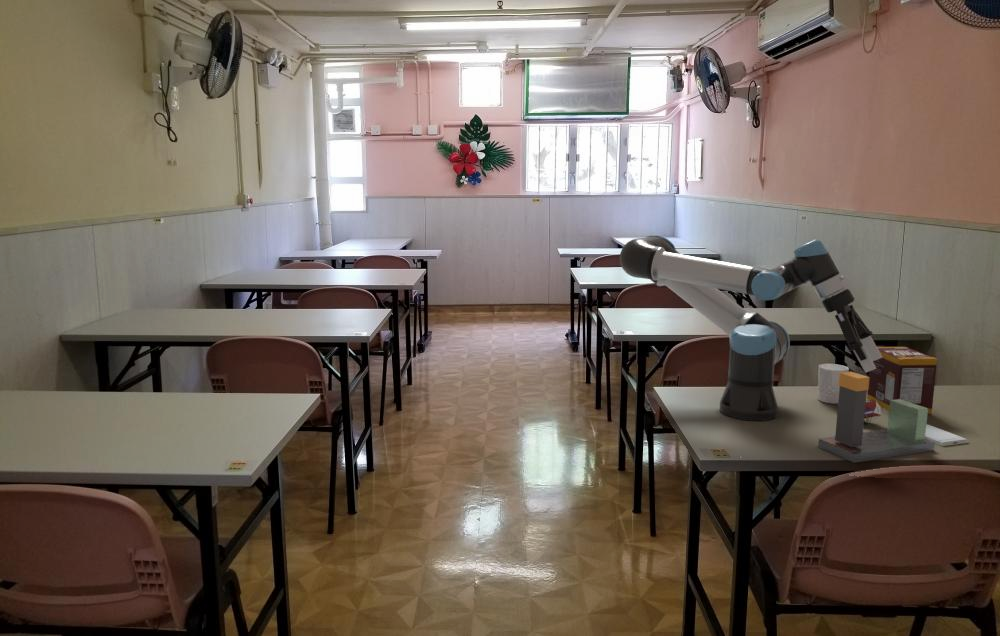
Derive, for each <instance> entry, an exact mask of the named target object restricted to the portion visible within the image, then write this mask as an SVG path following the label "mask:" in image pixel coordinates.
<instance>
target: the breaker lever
mask: <svg viewBox="0 0 1000 636" xmlns="http://www.w3.org/2000/svg"><path fill="white" fill-rule="evenodd" d="M869 378H870V377H869V376H868V375H867V376H866V375H863V374H861V373H857V372H854V371H848V372H842V373H840V374H839V386H840V389H839V400H838V404H837V413H836V422H835V423H836V425H835V435H834V436H835V440H836V441H838V442H840V443H843V444H845V445H847V446H850V447H856V446H862V436H863V432H864V425H865V421H864V420H865V419H864V416H865V405H866V403H867V390H868V388H869Z"/></svg>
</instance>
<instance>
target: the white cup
mask: <svg viewBox="0 0 1000 636" xmlns="http://www.w3.org/2000/svg"><path fill="white" fill-rule="evenodd" d="M849 370H850V369H849V367H848V366H846V365H841V364H836V363H822V364H818V374H817V375H818V377H817V387H818V388H817V391H818V392H817V393H818V394H817V395H818V397H817V400H819V401H821V402H822V403H827V404H836V405H838V400H839V389H840V386H839V374H840V373H842V372H850V371H849Z"/></svg>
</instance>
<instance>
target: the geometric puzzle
mask: <svg viewBox="0 0 1000 636" xmlns="http://www.w3.org/2000/svg"><path fill="white" fill-rule="evenodd" d="M881 409H882V407H881V406H879V404H878V403H877V402H876V400H875V401H866V405H865V416H864V424H865V423H866V424H867V425H870V424H871V421H872V419H873V418H874V421H875V420H876V418H879V417H880V416H881V415H882V413H881ZM866 421H867V422H866ZM869 421H870V422H869Z"/></svg>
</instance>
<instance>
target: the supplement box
mask: <svg viewBox="0 0 1000 636" xmlns="http://www.w3.org/2000/svg"><path fill="white" fill-rule="evenodd" d="M877 348H878V350H879V352H880V353H881V355H882V358H880V359H877V360H875V361H873V363H874V365H875V367H876V369H874V370H871V371H869V372H868V377H870V378H869V388H868V390H867V395H866V400H867V401H869V402H871V401H875V400H876V402H877V403H878V404H879V406H880V407H881V408H883V409H884V410H886V411H888V412H889V408H890V400H897V399H901V400H904V401H907V402H910V403H913V404H916V405H919V406H922V407H925V408H928V414H927V415H932V413H933V405H934V395H935V393H934V392H935V384H936V373H937V365H938V359H937V358H936V357H933V356H930V355H928V354H925V353H924V352H923V353H922V352H920V351H918V350H914V349H912V348H909V347H907V346H877Z"/></svg>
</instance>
